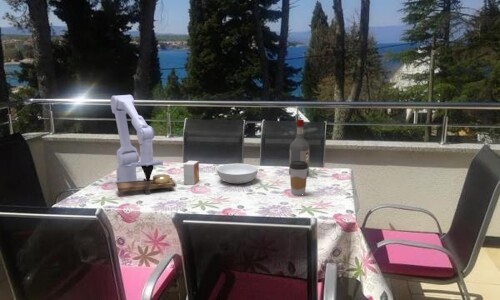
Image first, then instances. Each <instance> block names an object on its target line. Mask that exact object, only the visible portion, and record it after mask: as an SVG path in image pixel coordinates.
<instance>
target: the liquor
mask: <svg viewBox="0 0 500 300" xmlns="http://www.w3.org/2000/svg"><path fill="white" fill-rule="evenodd" d="M304 123H305V121H304V119H297V120H296V136H295V138H294V140H293V141H292V142H291V143H290V145H289V160H288V161H289V165H288V167H289V168H288V174H289V175H290V164H291V162H292V161H305V162H307V165H308V168H307V174H308V175H309V174H310V143H309V142H308V141H307V140H306V138H304V137H305V136H304V126H305V124H304Z"/></svg>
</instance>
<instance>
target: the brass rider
mask: <svg viewBox="0 0 500 300" xmlns="http://www.w3.org/2000/svg"><path fill="white" fill-rule="evenodd" d="M170 178H171V176H170V175H169V174H163V173H160V174H155V175H152V179H153V184H156V185H158V184H167V183H170Z"/></svg>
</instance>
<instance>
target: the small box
mask: <svg viewBox="0 0 500 300" xmlns="http://www.w3.org/2000/svg"><path fill="white" fill-rule="evenodd" d="M199 165H200V161H199V160H188V161H187V162H184V163H183V184H184V185H193V186H195V185H196V184H197V183H198V182H199V181H200V167H199Z"/></svg>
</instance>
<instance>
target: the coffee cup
mask: <svg viewBox="0 0 500 300" xmlns="http://www.w3.org/2000/svg"><path fill="white" fill-rule="evenodd" d="M307 168H308V165H307V162H305V161H292V162H291V164H290V174H289V177H290V192H291V195H292V194H294V195H293V196H295V195H302V194H304V195H305V194H306V188H307V179H308V177H307V176H308V175H307ZM302 196H303V195H302Z"/></svg>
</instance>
